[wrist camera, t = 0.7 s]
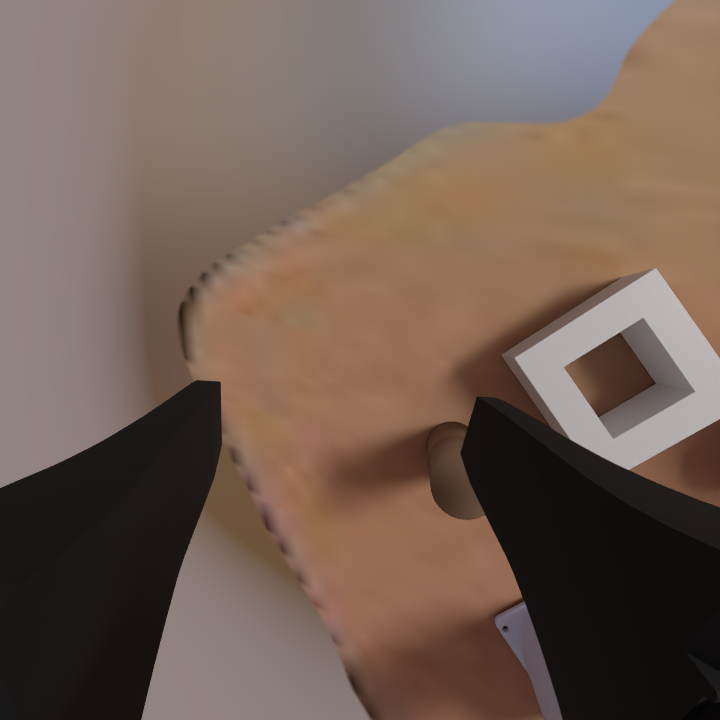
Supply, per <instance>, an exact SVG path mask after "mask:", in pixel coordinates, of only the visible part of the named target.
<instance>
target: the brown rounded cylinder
mask: <svg viewBox="0 0 720 720" xmlns="http://www.w3.org/2000/svg"><path fill="white" fill-rule="evenodd" d="M467 429H468V427H467V426H466V425H464V424H461V423H458V422H446V423H442V424H440V425H438V426H437V427H435V428H434V429H433V430H432V431H431V433H430V434H429V436H428V439H427V444H426V449H427V458H428V467H429V476H430V485H431V492H432V496H433V498H434V500H435V502H436V504H437V505H438V506H439V507H440V508H441V509H442V510H443V511H444V512H445V513H447V514H448V515H450V516H452V517H455V518H458V519H464V520H471V519H477V518H480V517H482V516H484V515H485V513H484V511H483V509H482V507H481V505H480V503H479V501H478V499H477V497H476V495H475V493H474V491H473V489H472V486H471V484H470V482H469V479H468V476H467V473H466V470H465V467H464V464H463V461H462V457H461V454H460V452H461V449H462V445H463V442H464V439H465V435H466V432H467Z"/></svg>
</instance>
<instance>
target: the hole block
mask: <svg viewBox="0 0 720 720" xmlns="http://www.w3.org/2000/svg"><path fill="white" fill-rule="evenodd" d="M619 332H620V333H621V334H622V336H623V337H624V339H625V340H626V342H627V343H628V345H629V346H630V347H631V349H632V350H633V352H634V353H635V355H636V356H637V357H638V359H639V360H640V362H641V363H642V365H643V366H644V367H645V369H646V370H647V372H648V373H649V375H650V376H651V377H652V379H653V380H654V382H655V383H656V384H654V385H653V386H651V387H649V388H648V389H646V390H644V391H643V392H641V393H639V394H637V395H636V396H634V397H632V398H631V399H629V400H627V401H626V402H624V403H622V404H620V405H619V406H617V407H615V408H614V409H612V410H610V411H609V412H607V413H605V414H604V415H602V416H600V417H598V416H597V415H596V413H595V412H594V411H593V409H592V408H591V406H590V405H589V403H588V402H587V400H586V399H585V398H584V396H583V395H582V393H581V392H580V390H579V389H578V387H577V386H576V385H575V383H574V382H573V380H572V379H571V377H570V376H569V374H568V373H567V372H566V370H565V369H564V367H565V366H566V365H568V364H569V363H571V362H573V361H574V360H576V359H577V358H579V357H581V356H582V355H584V354H586V353H587V352H589V351H590V350H592V349H594V348H595V347H597V346H598V345H600V344H602V343H603V342H605V341H607V340H608V339H610V338H611V337H613V336H615V335H616V334H618V333H619ZM501 356H502V357H503V359H504V360H505V362H506V363H507V364H508V366H509V367H510V369H511V370H512V372H513V373H514V375H515V376H516V378H517V379H518V380H519V382H520V383H521V385H522V386H523V388H524V389H525V391H526V392H527V394H528V395H529V396H530V398H531V399H532V401H533V402H534V404H535V405H536V407H537V408H538V410H539V411H540V412H541V414H542V415H543V417H544V418H545V420H546V421H547V423H548V424H549V425H550V427H551V428H552V429H553V430H555V431H556V432H558V433H560V434H561V435H563V436H565V437H567V438H568V439H570V440H572V441H574V442H575V443H577V444H579V445H581V446H582V447H584V448H586V449H588V450H590V451H592V452H594V453H595V454H597V455H599V456H601V457H603V458H605V459H607V460H609V461H611V462H613V463H615V464H617V465H619V466H621V467H623V468H625V469H627V470H629V469H631V468H633V467H635V466H637V465H638V464H640V463H642V462H644V461H646V460H647V459H649V458H651V457H653V456H654V455H656V454H658V453H660V452H662V451H663V450H665V449H667V448H669V447H671V446H672V445H674V444H676V443H678V442H679V441H681V440H683V439H685V438H687V437H688V436H690V435H692V434H694V433H696V432H697V431H699V430H701V429H703V428H704V427H706V426H708V425H710V424H712V423H713V422H715V421H717V420H719V419H720V358H719V357H718V356H717V354H716V353H715V351H714V350H713V348H712V347H711V346H710V344H709V343H708V341H707V340H706V338H705V337H704V336H703V334H702V333H701V331H700V330H699V329H698V327H697V326H696V324H695V323H694V321H693V320H692V319H691V317H690V316H689V314H688V313H687V311H686V310H685V309H684V307H683V306H682V304H681V303H680V301H679V300H678V299H677V297H676V296H675V294H674V293H673V292H672V290H671V289H670V287H669V286H668V284H667V283H666V282H665V280H664V279H663V277H662V276H661V274H660V273H659V272H658V270H657V269H656V268H654V269H650V270H646V271H643V272H639V273H635V274H632V275H628V276H625V277H621V278H620V279H618V280H617V281H615V282H614V283H612V284H610V285H609V286H607V287H606V288H604V289H603V290H601V291H600V292H598V293H596V294H595V295H593V296H592V297H590V298H589V299H587V300H586V301H584V302H582V303H581V304H579V305H578V306H576V307H575V308H573V309H572V310H570V311H568V312H567V313H565V314H564V315H562V316H561V317H559V318H558V319H556V320H554V321H553V322H551V323H550V324H548V325H547V326H545V327H544V328H542V329H540V330H539V331H537V332H536V333H534V334H533V335H531V336H530V337H528V338H526V339H525V340H523V341H522V342H520V343H519V344H517V345H515V346H514V347H512V348H511V349H509V350H508V351H506V352H505V353H503V354H501Z"/></svg>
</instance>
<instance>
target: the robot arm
mask: <svg viewBox="0 0 720 720" xmlns="http://www.w3.org/2000/svg"><path fill="white" fill-rule="evenodd" d="M221 446H222V430H221V382H217V381H200V380H196V381H194V382H193V383H191V384H190V385H188V386H187V387H185V388H184V389H183V390H181V391H180V392H178V393H177V394H175V395H174V396H173V397H171V398H170V399H168V400H167V401H165V402H164V403H163V404H161V405H160V406H158V407H157V408H155V409H154V410H152V411H151V412H149V413H148V414H146V415H145V416H143V417H142V418H140V419H138V420H137V421H135V422H133V423H132V424H130V425H128V426H127V427H125V428H123V429H122V430H120V431H119V432H117V433H115V434H114V435H112V436H110V437H109V438H107V439H105V440H103V441H102V442H100V443H98V444H96V445H94V446H92V447H90V448H88V449H87V450H84V451H82V452H80V453H78V454H76V455H75V456H72V457H70V458H68V459H66V460H64V461H62V462H60V463H58V464H56V465H54V466H51V467H49V468H47V469H44V470H42V471H40V472H37V473H35V474H32V475H30V476H28V477H25V478H23V479H21V480H18V481H16V482H14V483H11V484H9V485H6V486H4V487H2V488H0V720H141V718H142V713H143V709H144V705H145V701H146V697H147V693H148V689H149V685H150V680H151V677H152V672H153V668H154V664H155V660H156V657H157V653H158V649H159V645H160V641H161V637H162V633H163V629H164V626H165V622H166V618H167V614H168V610H169V606H170V603H171V600H172V596H173V592H174V588H175V585H176V581H177V577H178V574H179V571H180V568H181V565H182V562H183V559H184V556H185V554H186V551H187V548H188V545H189V543H190V540H191V538H192V535H193V532H194V530H195V527H196V525H197V522H198V519H199V517H200V514H201V512H202V509H203V506H204V504H205V501H206V498H207V495H208V493H209V490H210V488H211V485H212V482H213V479H214V476H215V472H216V468H217V464H218V459H219V455H220V451H221ZM460 454H461V457H462V461H463V464H464V467H465V470H466V473H467V476H468V479H469V482H470V484H471V486H472V489H473V491H474V493H475V495H476V497H477V499H478V501H479V503H480V505H481V507H482V509H483V511H484V513H485V515H486V517H487V519H488V521H489V523H490V525H491V527H492V529H493V531H494V533H495V535H496V537H497V539H498V541H499V543H500V545H501V547H502V549H503V551H504V553H505V555H506V557H507V559H508V562H509V564H510V566H511V568H512V570H513V573H514V576H515V578H516V581H517V584H518V586H519V589H520V591H521V594H522V597H523V599H524V601H523V602H521V603H520V604H518V605H516V606H514V607H512V608H510V609H508V610H506V611H504V612H502V613H501V614H499V615H497V616H496V617H495V619H494V621H495V625H496V627H497V628H498V630H499V631H500V633H501V634H502V636H503V637H504V639H505V640H506V642H507V643H508V645H509V646H510V647H511V649H512V650H513V652H514V653H515V655H516V656H517V658H518V659H519V661H520V662H521V664H522V665H523V667H524V668H525V670H526V671H527V673H528V674H529V677H530V680H531V682H532V685H533V688H534V691H535V694H536V697H537V700H538V703H539V706H540V709H541V712H542V715H543V718H544V720H720V508H719V507H717V506H714V505H711V504H708V503H706V502H703V501H700V500H698V499H695V498H693V497H690V496H688V495H685V494H683V493H680V492H678V491H675V490H673V489H670V488H668V487H665V486H663V485H660V484H658V483H656V482H653V481H651V480H649V479H647V478H644V477H642V476H640V475H638V474H636V473H634V472H632V471H629V470H627V469H625V468H623V467H621V466H619V465H617V464H615V463H613V462H611V461H609V460H607V459H605V458H603V457H601V456H599V455H597V454H595V453H594V452H592V451H590V450H588V449H586V448H584V447H582V446H581V445H579V444H577V443H575V442H574V441H572V440H570V439H568V438H567V437H565V436H563V435H561V434H560V433H558V432H556V431H555V430H553V429H551V428H550V427H548V426H546V425H544V424H543V423H541V422H539V421H538V420H536V419H534V418H533V417H531V416H529V415H528V414H526V413H524V412H523V411H521V410H519V409H517V408H516V407H514V406H512V405H510V404H508V403H506V402H504V401H502V400H500V399H498V398H489V397H477V399H476V402H475V405H474V409H473V412H472V415H471V419H470V422H469V425H468V429H467V432H466V435H465V439H464V442H463V445H462V449H461V452H460ZM503 626H507V628H506V629H504V628H502V627H503Z"/></svg>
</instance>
